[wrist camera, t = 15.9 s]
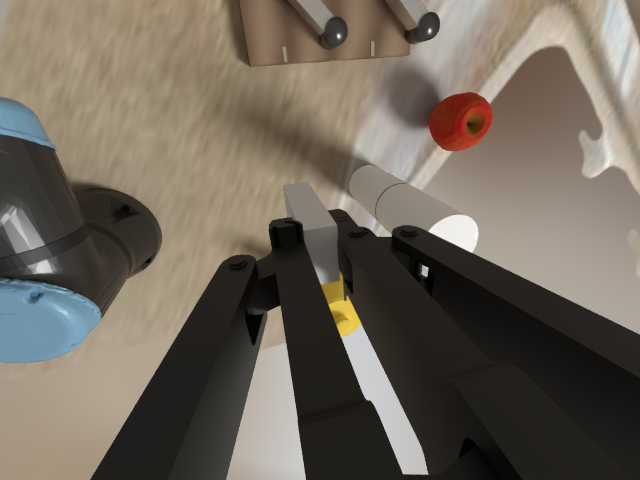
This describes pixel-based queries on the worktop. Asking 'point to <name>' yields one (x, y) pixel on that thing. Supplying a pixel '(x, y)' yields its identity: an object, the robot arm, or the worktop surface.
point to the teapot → (341, 307)
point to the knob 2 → (415, 20)
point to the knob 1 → (322, 22)
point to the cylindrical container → (410, 207)
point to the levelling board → (302, 41)
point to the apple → (460, 121)
